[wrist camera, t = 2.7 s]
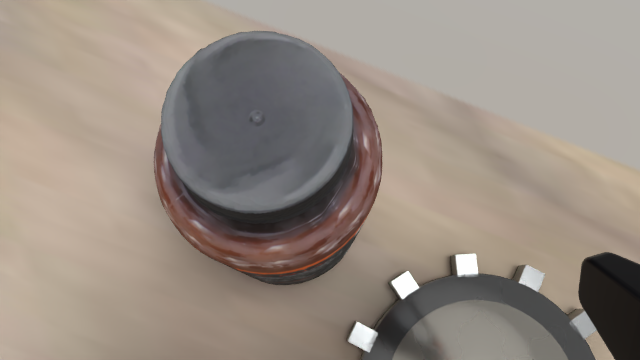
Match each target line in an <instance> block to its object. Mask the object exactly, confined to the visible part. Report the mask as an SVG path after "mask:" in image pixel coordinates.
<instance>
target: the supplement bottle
mask: <svg viewBox="0 0 640 360" xmlns="http://www.w3.org/2000/svg"><path fill="white" fill-rule="evenodd" d="M154 169H155V170H154V173H155V179H156V184H157V189H158V192H159V196H160V199H161V202H162V204H163V207H164V208H165V210H166V212H167V214H168V216H169V217H170V219H171V221H172V222H173V224H174V225H175V227H176V228H177V229H178V231H179V232H180V233H181V234H182V236H183V237H184V238H185V239H186V240H187V241H188V242H189V243H190V244H192V245H193V246H194V247H195V248H196V249H198V250H199V251H200V252H202V253H203V254H205V255H207V256H208V257H210V258H212V259H214V260H216V261H218V262H221V263H223V264H225V265H227V266H229V267H232V268H234V269H236V270H237V271H240V272H242V273H245V274H246V275H249V276H251V277H253V278H256V279H258V280H260V281H262V282H266V283H269V284H275V285H289V284H297V283H303V282H306V281H309V280H311V279H314V278H316V277H319V276H320V275H322V274H324V273H325V272H327V271H328V270H330V269H331V268H333V267H334V266H335V265H336V264H337V263H338V262H339V261H340V260H341V259H342V258H343V256H344V255H345V254H346V252H347V251H348V249H349V248H350V246H351V244H352V243H353V241H354V239H355V237H356V236H357V234H358V232H359V231H360V229H361V227H362V225H363V223H364V221H365V220H366V218H367V216H368V214H369V212H370V210H371V208H372V206H373V203H374V201H375V199H376V196H377V193H378V189H379V186H380V182H381V175H382V144H381V138H380V133H379V131H378V125H377V124H376V122H375V119H374V116H373V114H372V111H371V109H370V108H369V105H368V104H367V103H366V100H365V98H364V97H363V96H362V95H361V94H360V93H359V92H358V91H357V89H356V88H355V87H354V86H353V85H352V84H351V83H350V82H349V81H348V80H347V79H346V78H345V77H344V76H343V75H342V74H340V73H339V72H338V70H337V69H336V68H335V66H334V65H333V64H332V63H331V62H330V61H329V60H328V59H327V58H326V57H325V56H324V55H323V54H322V53H320V52H319V51H318V50H317V49H316V48H314V47H313V46H312V45H310V44H308V43H306V42H304V41H302V40H300V39H297V38H294V37H291V36H288V35H284V34H279V33H276V32H270V31H252V32H239V33H237V34H233V35H230V36H227V37H224V38H222V39H220V40H218V41H216V42H214V43H212V44H210V45H208V46H207V47H205V48H203V49H200V50H199V51H198V52H197V53H196V54H195V55H194V56H193V57H192V58H191V59H190V60H188V61H187V62H186V63H185V64H184V65H183V67H182V68H181V69H180V70H179V71H178V72H177V74H176V76H175V79H174V80H173V81H172V83H171V85H170V87H169V89H168V91H167V94H166V98H165V101H164V104H163V108H162V116H161V125H160V128H159V132H158V136H157V140H156V147H155V151H154Z"/></svg>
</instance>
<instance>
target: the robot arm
mask: <svg viewBox="0 0 640 360" xmlns="http://www.w3.org/2000/svg"><path fill="white" fill-rule="evenodd" d="M578 293H579V300H580V303H581V305H582V307H583V309H584V310H585V312H586V314H587V315H588V317H589V318H590V320H591V322H592V323H593V325H594V326H595V328H596V330H597V331H598V333H599V335H600V336H601V338H602V339H603V341H604V343H605V344H606V346H607V347H608V349H609V351H610V352H611V354H612V355H613V357H614V359H615V360H640V264H638V263H635V262H633V261H630V260H628V259H626V258H623V257H621V256H618V255H616V254H613V253H609V252H605V253H601V254H597V255H594V256H591V257H587V258H585V259H584V261H583V262H582V266H581V274H580V283H579V291H578Z"/></svg>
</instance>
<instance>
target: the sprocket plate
mask: <svg viewBox="0 0 640 360" xmlns="http://www.w3.org/2000/svg"><path fill="white" fill-rule="evenodd" d="M450 258H451V267H452V276H447V277H443V278H439V279H435V280H432V281H430V282H427V283H425V284H423V285H420V286H418V285H417V283H416V282H415V281H414V279H413V278H412V276H411V275H410V273H409V272H408V271H405V272H403V273H402V274H400V275H399V276H397V277H396V278H394V279H393V280H391V281H390V282H388V283H389V285H390V286H391V288H392V289H393V291H394V292H395V294H396V296H397V297H398V299H399V300H398V301H396V302H395V303H394V304H393V305H392V306H391V307H390V308H389V309H388V310H387V311H386V312H385V313H384V315H383V316H382V318H381V319H380V320H379V322H378V323H377V324H376V326H375V327H374V329H373V330H372V329H370V328H368V327H366V326H364V325H362V324H361V323H359V322H357V321H355V323H354V325H353V327H352V329H351V331H350V333H349V335H348V337H347V341H348V342H350V343H352V344H354V345H356V346H358V347H359V348H361V349H363V350H364V351H363V353H362V357H361V360H595V358H594V355H593V353H592V351H591V349H590V347H589V345H588V343H587V342H586V340H585V338H587V337H588V336H589V335H591V334H592V333H593V332H595V331H596V328H595V326H594V325H593V323H592V322H591V320H590V318H589V317H588V315H587V314H586V312H585V310H584V309H576V310H575V311H573V312H572V313H570V314H569V315H568V316H567V315H566V314H565V313H564V312H563V311H562V310H561V309H560V308H559V307H558V306H557V305H555V304H554V303H553V302H551V301H550V300H549V299H548V298H546V297H545V296H544V295H542V294H540V293H539V292H538V291H539V288H540V286H541V284H542V281H543V279H544V276H545V274H544V273H542V272H540V271H538V270H536V269H534V268H532V267H530V266H528V265H521V266H518V268H517V270H516V273H515V275H514V278H513V280H511V279H507V278H504V277H500V276H495V275H488V274H478V268H477V259H476V254H460V255H453V256H450Z"/></svg>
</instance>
